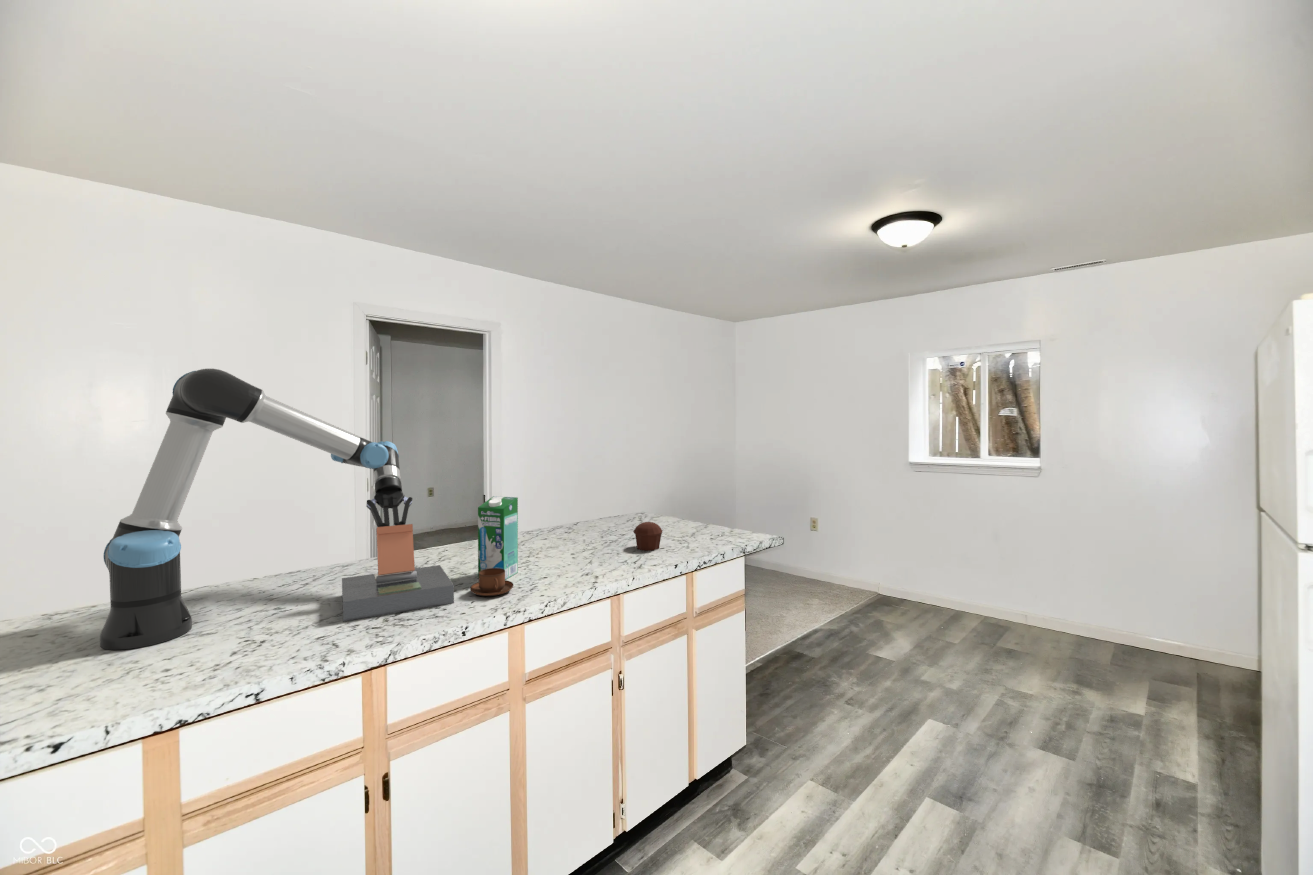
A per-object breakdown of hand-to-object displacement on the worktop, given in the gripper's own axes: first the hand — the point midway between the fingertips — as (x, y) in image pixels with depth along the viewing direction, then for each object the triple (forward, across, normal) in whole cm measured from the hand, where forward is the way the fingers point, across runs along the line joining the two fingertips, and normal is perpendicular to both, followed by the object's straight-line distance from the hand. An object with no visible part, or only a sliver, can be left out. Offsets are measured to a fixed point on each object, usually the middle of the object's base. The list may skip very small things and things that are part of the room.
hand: (393, 546), depth 152 cm
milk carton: (+10, -30, -9) cm, 33 cm away
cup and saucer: (+20, -24, +1) cm, 32 cm away
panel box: (+15, 0, -3) cm, 15 cm away
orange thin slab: (+11, 0, +1) cm, 11 cm away
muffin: (+5, -90, -13) cm, 91 cm away
